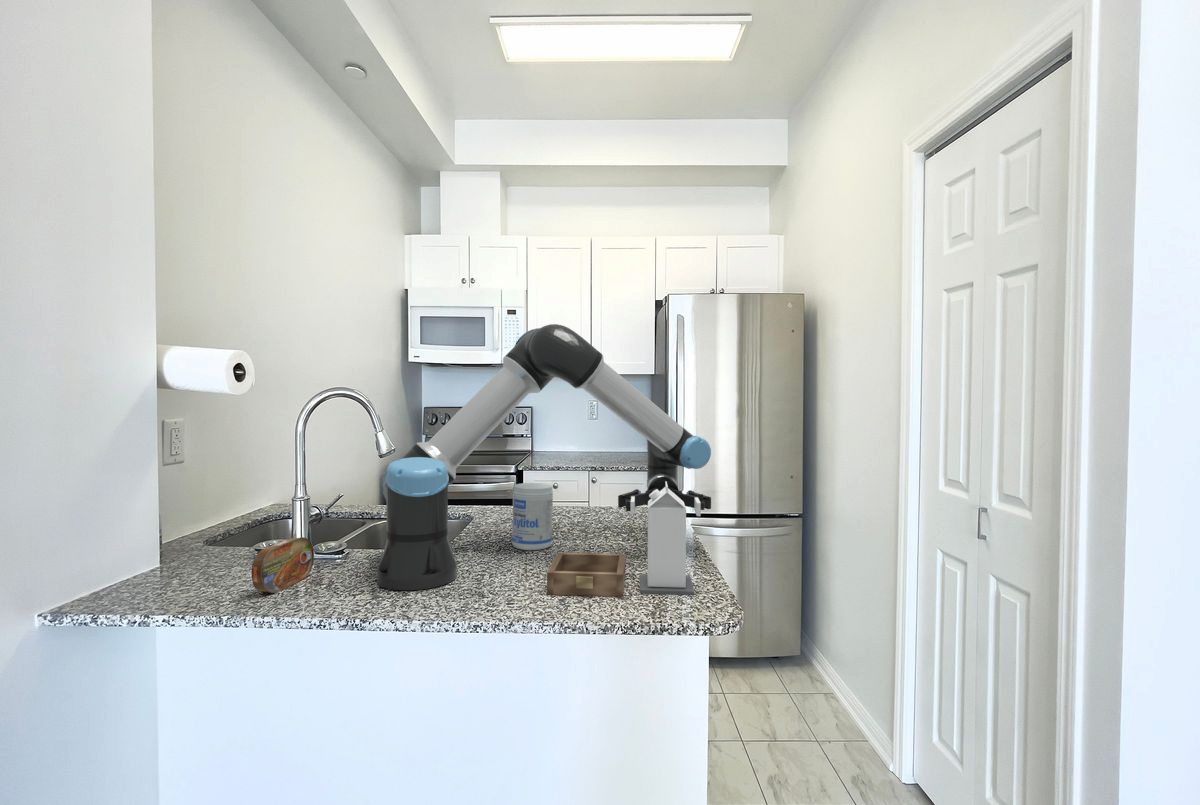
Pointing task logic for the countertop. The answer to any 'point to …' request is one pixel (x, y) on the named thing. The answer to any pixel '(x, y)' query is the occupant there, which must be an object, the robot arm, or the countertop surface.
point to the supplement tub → (532, 516)
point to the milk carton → (666, 540)
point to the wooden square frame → (587, 574)
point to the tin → (282, 565)
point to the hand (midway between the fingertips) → (665, 509)
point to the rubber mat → (666, 590)
